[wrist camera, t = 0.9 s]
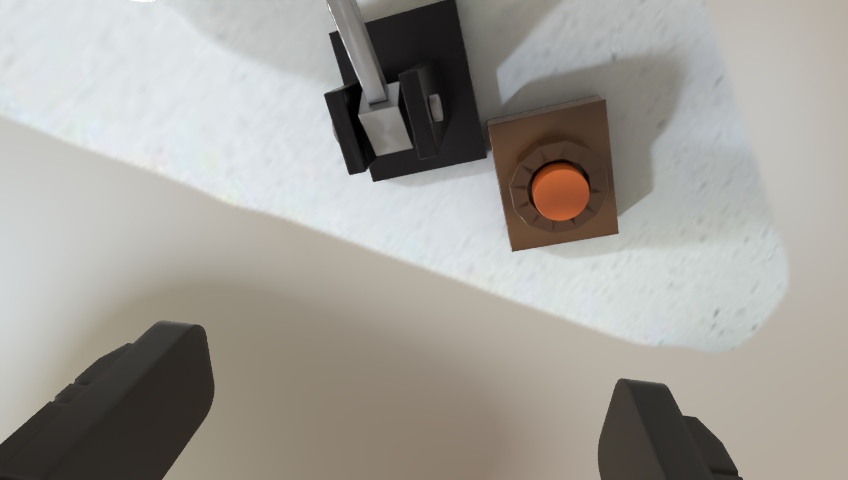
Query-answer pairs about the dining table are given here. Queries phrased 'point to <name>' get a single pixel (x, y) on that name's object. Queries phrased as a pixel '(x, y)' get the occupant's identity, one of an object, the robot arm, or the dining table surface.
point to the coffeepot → (144, 0)
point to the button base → (546, 144)
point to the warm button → (560, 191)
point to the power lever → (373, 84)
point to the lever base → (413, 93)
